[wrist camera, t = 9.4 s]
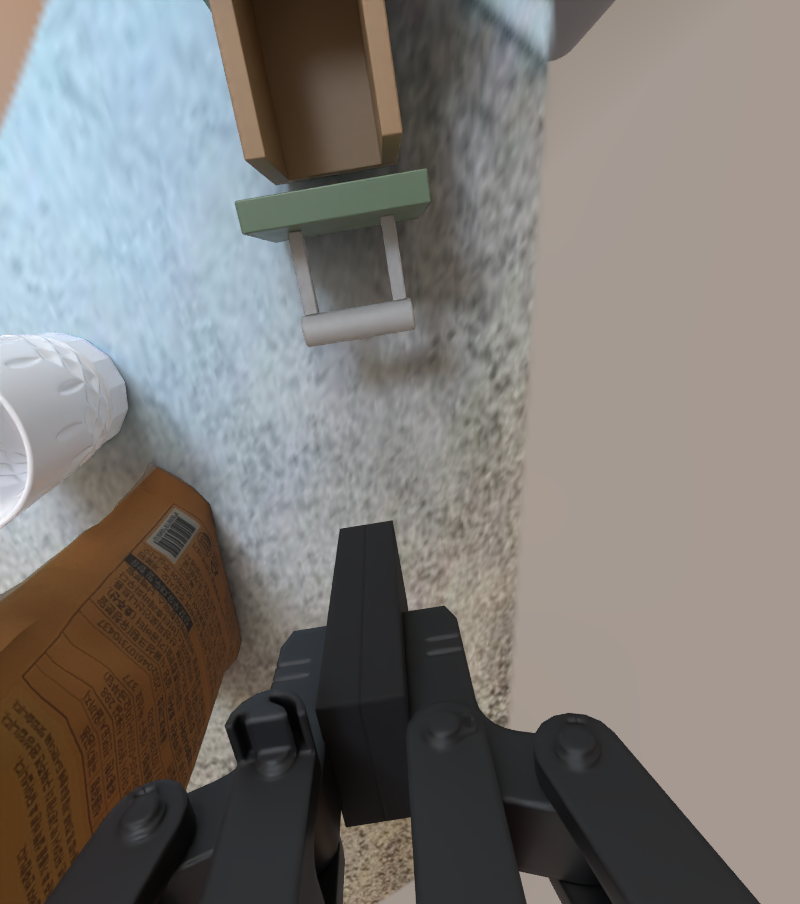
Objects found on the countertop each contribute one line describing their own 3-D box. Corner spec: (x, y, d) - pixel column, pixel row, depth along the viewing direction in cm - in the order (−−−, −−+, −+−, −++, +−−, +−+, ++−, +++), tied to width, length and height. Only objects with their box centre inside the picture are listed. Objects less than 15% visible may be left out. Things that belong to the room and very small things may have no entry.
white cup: (110, 308, 29) (-22, 327, 19) (159, 445, 31) (64, 522, 22) (-32, 336, 29) (-232, 369, 19) (28, 470, 31) (-122, 557, 22)
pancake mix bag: (223, 431, 31) (-661, 1364, 5) (281, 693, 37) (46, 1731, 11) (107, 445, 31) (-1445, 1457, 5) (185, 704, 37) (-288, 1773, 11)
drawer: (432, 317, 29) (448, 330, 22) (295, 340, 29) (272, 360, 22) (372, -126, 23) (369, -283, 16) (199, -95, 23) (129, -238, 16)
